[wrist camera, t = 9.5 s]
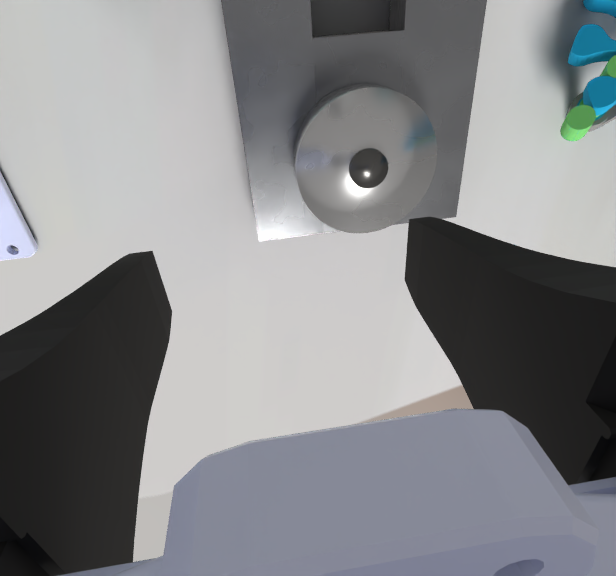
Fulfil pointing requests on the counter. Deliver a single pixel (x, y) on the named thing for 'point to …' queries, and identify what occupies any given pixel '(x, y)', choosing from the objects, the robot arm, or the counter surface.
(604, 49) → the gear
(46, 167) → the counter surface
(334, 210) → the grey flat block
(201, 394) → the counter surface
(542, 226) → the counter surface
